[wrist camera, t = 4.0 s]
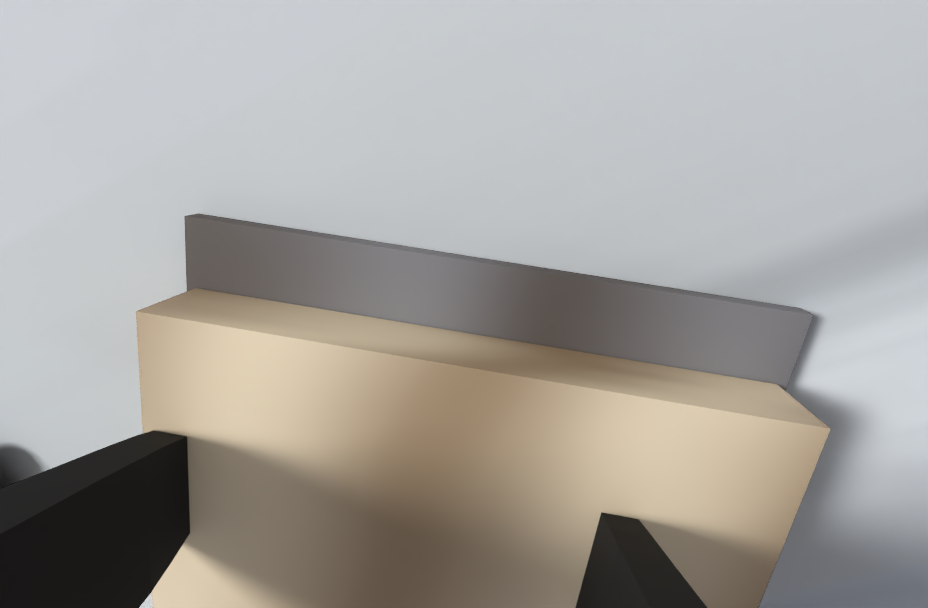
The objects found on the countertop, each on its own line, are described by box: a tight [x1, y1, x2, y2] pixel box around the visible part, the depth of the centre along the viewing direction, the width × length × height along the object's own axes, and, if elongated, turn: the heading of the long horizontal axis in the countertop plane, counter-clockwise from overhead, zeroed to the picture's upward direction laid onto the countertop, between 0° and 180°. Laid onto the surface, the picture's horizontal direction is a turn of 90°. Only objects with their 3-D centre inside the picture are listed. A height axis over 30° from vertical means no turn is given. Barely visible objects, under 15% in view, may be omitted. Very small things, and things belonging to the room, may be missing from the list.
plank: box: [136, 288, 830, 608], centre depth 9 cm, size 11×8×2 cm
